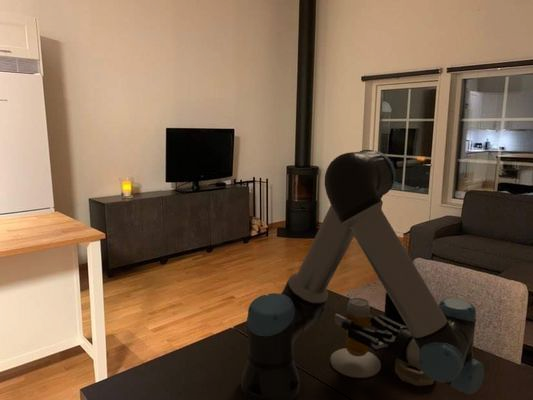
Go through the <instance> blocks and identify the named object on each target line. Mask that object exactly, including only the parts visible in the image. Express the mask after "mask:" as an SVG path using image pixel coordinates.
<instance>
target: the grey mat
mask: <svg viewBox="0 0 533 400" xmlns="http://www.w3.org/2000/svg"><path fill="white" fill-rule="evenodd" d="M330 364H331V367H332V368H333V369H334V370H335V371H337V372H338V373H339V374H341V375H344V376H345V377H350V378H354V379H355V378H356V379H366V378H371V377H374V376H376V375H377V374H378V373H379V372H380V371H381V368H382V367H381V366H382V364H381V361H380V359H379V358H378V357H377V356H376V355H375V354H374V353H372V352H370V351H368V352H367V353H366V354H365V355H364V356H353V355H351V354H350V353H349V352H348V351H347V349H346V347H345V348H340V349H337V350H335V351H334V352H333V353H332V354H331V356H330Z"/></svg>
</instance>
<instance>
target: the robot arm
mask: <svg viewBox="0 0 533 400" xmlns="http://www.w3.org/2000/svg"><path fill="white" fill-rule="evenodd" d="M396 177H397V176H396V169H395V165H394V163H393V162H392V160H391V159H390V158H389V157H388V156H387V155H386V154H384V153H383V152H381V151H378V150H374V149H373V150H372V149H363V150H360V151H356V152H355V151H353V152H345V153H342V154H340V155H338V156H336V157H335V158H333V160H332V161H331V162H330V163H329V165H328V166H327V167H326V171H325V174H324V182H323V183H324V188H325V194H326V196H327V198H328V201H329V203H330V205H329V208H328V210H327V212H326V215H325V216H324V218H323V221H322V222H321V224H320V227H319V229H318V230H317V233H316V234H315V237H314V239H313V241H312V243H311V244H310V245H311V246H310V247H309V248H308V249H309V250H308V251H307V254H306V255H305V257H304V260H303V262H302V263H301V266H300V268H299V270H298V272H297V273H293V274H291V275H290V276H289V278H288V280H287V282H286V284H285V287H284V288H283V290H282V292H280V293H275V292H273V293H268V294H262V295H260V296H258V297H256V298H255V299H253V301H251V302H250V304H249V306H248V310H247V317H246V324H247V325H246V326H247V360H246V364H245V367H244V369H243V372H242V375H241V378H240V379H241V381H240V388H241V389H242V390H241V392H243V393H242V395H243V396H244V395H245V396H246V397H247V398H248V399H250V400H294V399H296V398H297V397H298V395H299V393H300V389H301V386H300V385H301V384H300V383H301V382H300V375H299V372H298V369H297V367H296V363H295V361H294V347H295V346H294V344H295V343H294V342H295V341H296V339H298V338H299V337H300V336H301V335H302V334H303V333H305V331H307V330H308V329H309V328H310V327H312V326H313V325H315V324H316V323H317V322H319V320H321V318H322V317H323V315H324V313H325V311H326V308H327V300H328V297H329V292H328V290H327V287H328V286H329V284H330V282H331V281H332V279H333V277H334V275H335V273H336V271H337V270H338V267H339V265H340V264H341V261H342V260H343V258H344V255H345V254H346V252H347V250H348V248H349V247H350V245H351V243H352V242H353V241H352V240H353V239H354V238H355V239H356V241H357V243H358V245H359V247H360V248H361V250H362V252H363V254H364V255H365V257H366V258H367V261H368V262H369V264H370V266H371V268H372V269H373V271H374V272H375V274H376V276H377V278H378V279H379V281H380V283H381V285H382V286H383V288H384V289H385V291H386V293H388V295H389V297H390V298H391V300H392V302H393V304H394V305H395V307H396V309H397V310H398V312H399V314H400V316H401V317H402V319H403V321H404V322H405V324H406V326H404V325H401V324H399V323H397V322H395V321H393V320H391V319H389V318H387V317H385V316H384V315H382V314H377V315H373V314H372V315H371V314H370V316H369V326H370V327H371V328H375V329H376V330H374V329H371V328H369V329H368V328H365V327H361V326H358V325H355V324H354V322H353V321H351V320H349V319H347V317H344V316H342V315H341V314H339V313H335V315H334V324H335V325H337V326H339V327H341V328H342V329H344V330H345V331H347V330H348V337H349V338H351V339H353V340H355V341H358V342H360V343H362V344H364V345H366V346H368V348H370V349H371V350H372V351H373V352H375V353H378V352H380V351H379V349H381V348H383V349H385V350H389V351H391V352H392V354H393V356H394V357H395V358H396V359H397V358H398V359H400V360H402V361H404V362H406V363H409V364H410V365H412V366H411V367H414V368H416V369H417V370H419V371H423V372H424V373H425V374H426V375H427V376H428V377H429V378H431V379H433V380H434V382H439V383H444V384H445V385H447V386H449V387H450V388H452V389H455V390H458V391H459V392H462V393H464V394H466V395H472V394H475V393H476V392H477V391H478V390H479V389H480V387H481V385H482V384H483V381H484V377H485V369H484V365H483V363H482V362H481V361H479V360H477V359H476V358H474V356H473V355H474V352H473V351H474V350H473V346H474V338H475V330H476V322H477V319H476V314H477V313H476V312H477V311H476V307H475V305H473V304H472V303H471V302H469V301H468V300H467V301H466V300H465V299H461V298H460V299H459V298H454V297H451V298H450V297H448V298H443V299H442V300H440V301H439V303H438V302H437V301H436V299H435V296H434V295H433V293H432V292H431V291H430V289H429V287H428V285H427V284H426V282H425V280H424V279H423V277H422V275H421V274H420V272H419V270H418V269H417V267H416V265H415V264H414V262H413V260H412V258H411V257H410V255H409V253H408V251H407V250H406V248H405V247H404V245H403V244H402V242H401V240H400V238H399V236H398V235H397V232H395V230H394V229H393V226H392V225H391V223H390V221H389V219H388V218H387V217H386V215H385V214H384V211H383V210H382V207H383V203H384V202H383V200H382V198H383V197H384V196H385V195H386V194H388V193H389V191H390V190H391V189H392V188H393V186H394V185H395V181H396ZM245 396H244V397H245ZM246 397H245V398H246ZM247 398H246V399H247ZM248 399H247V400H248Z"/></svg>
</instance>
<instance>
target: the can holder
mask: <svg viewBox="0 0 533 400" xmlns="http://www.w3.org/2000/svg"><path fill="white" fill-rule="evenodd" d="M410 367H413V366H412V365H410V364H409V363H406V362H404V361H402V360H400V359H398V358H396V359H395V365H394V373H395V374H396V375H397V376H398V377H399V378H400V380H401V381H402V382H405V383H408V384H411V385H415V386H416V387H417V386H418V387H422V386H430V385H433V384H434V382H435V380H433V379H431V378H429V377H428V376H427V375H426V374H425V373H424V372H423V371H422V370H418V369H417V370H416V369H413V368H410Z"/></svg>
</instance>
